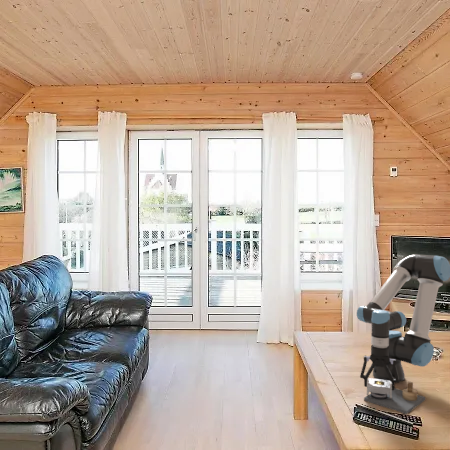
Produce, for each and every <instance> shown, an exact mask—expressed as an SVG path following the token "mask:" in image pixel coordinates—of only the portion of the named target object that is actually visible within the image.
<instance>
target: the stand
mask: <svg viewBox="0 0 450 450" xmlns="http://www.w3.org/2000/svg"><path fill="white" fill-rule="evenodd" d="M413 384H414V383H413V381H407V386H406V387H407V388H403V389H402V390H403V398H404V399H405V400H409V401H416V400H417V395H418V391H417V390H415V389H414V387H413V386H414V385H413Z"/></svg>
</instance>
